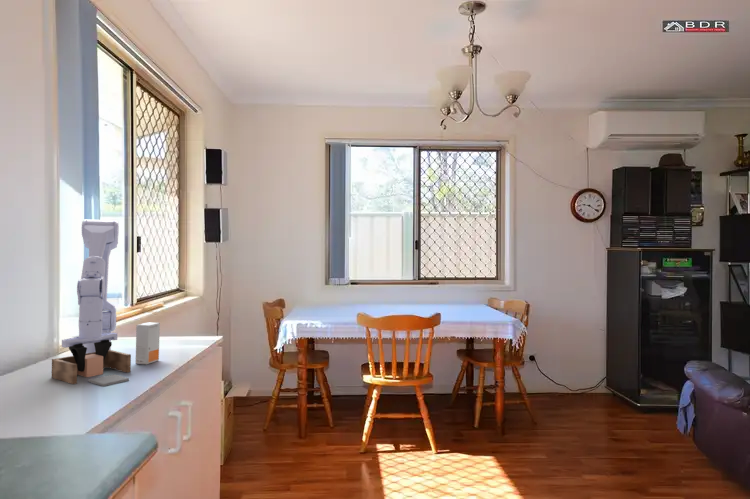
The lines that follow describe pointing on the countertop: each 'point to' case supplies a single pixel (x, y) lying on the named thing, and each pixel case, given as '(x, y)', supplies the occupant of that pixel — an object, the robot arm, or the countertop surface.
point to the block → (92, 366)
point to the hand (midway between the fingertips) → (90, 369)
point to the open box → (67, 365)
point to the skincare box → (147, 342)
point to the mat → (108, 380)
